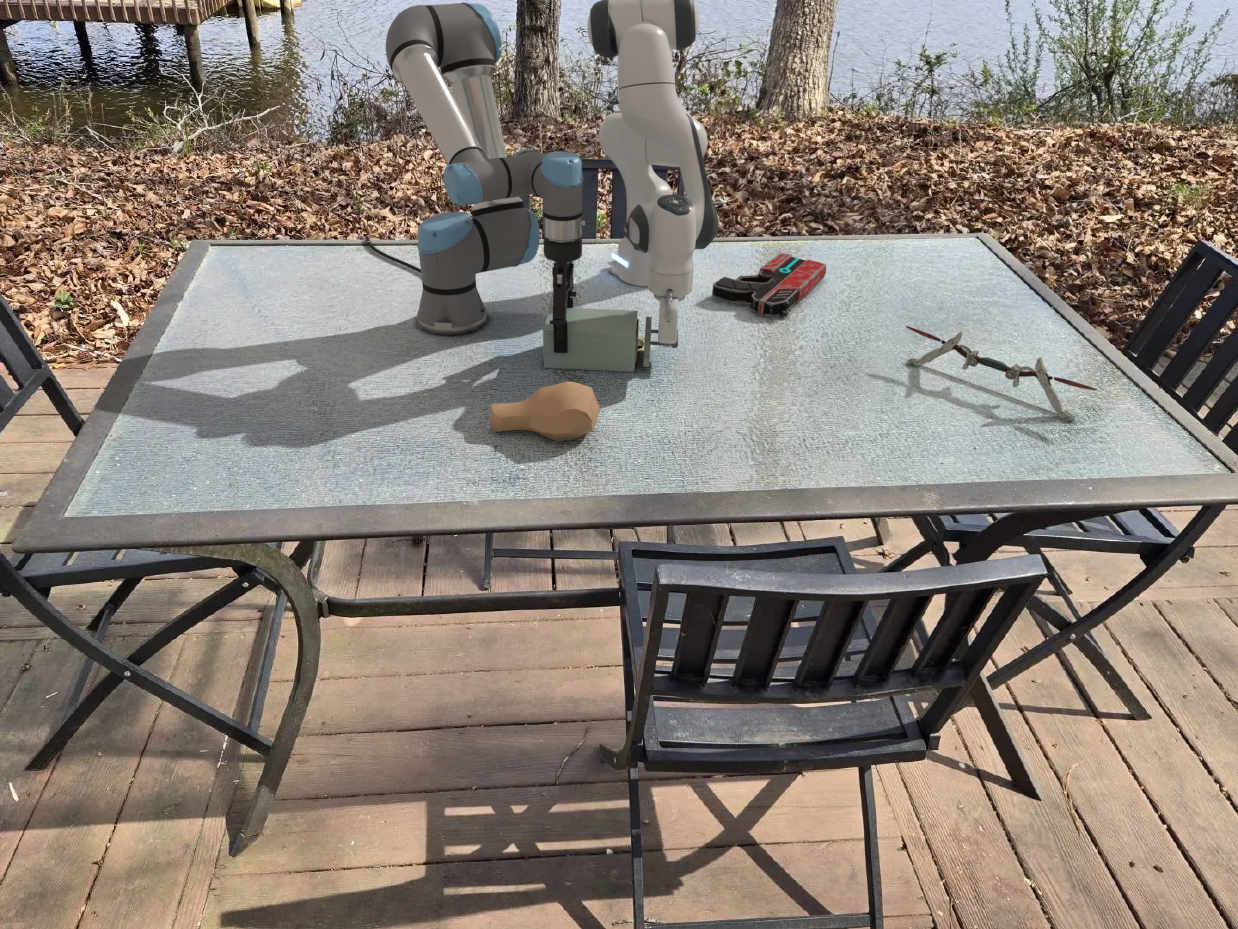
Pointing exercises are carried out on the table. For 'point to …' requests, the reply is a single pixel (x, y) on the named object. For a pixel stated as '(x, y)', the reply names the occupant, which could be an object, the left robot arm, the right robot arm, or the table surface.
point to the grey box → (594, 340)
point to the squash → (550, 412)
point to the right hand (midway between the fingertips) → (666, 344)
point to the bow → (1010, 372)
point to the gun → (772, 285)
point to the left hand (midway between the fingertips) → (563, 339)
